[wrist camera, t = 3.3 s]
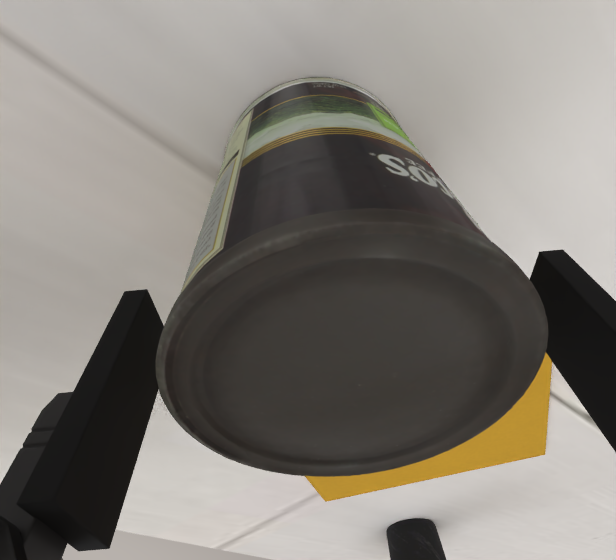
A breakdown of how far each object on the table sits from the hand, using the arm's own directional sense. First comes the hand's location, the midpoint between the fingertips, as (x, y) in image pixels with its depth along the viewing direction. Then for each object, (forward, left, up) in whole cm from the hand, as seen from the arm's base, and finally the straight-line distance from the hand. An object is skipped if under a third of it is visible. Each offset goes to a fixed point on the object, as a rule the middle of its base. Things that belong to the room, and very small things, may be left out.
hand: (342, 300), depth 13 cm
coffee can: (0, 0, -11) cm, 11 cm away
